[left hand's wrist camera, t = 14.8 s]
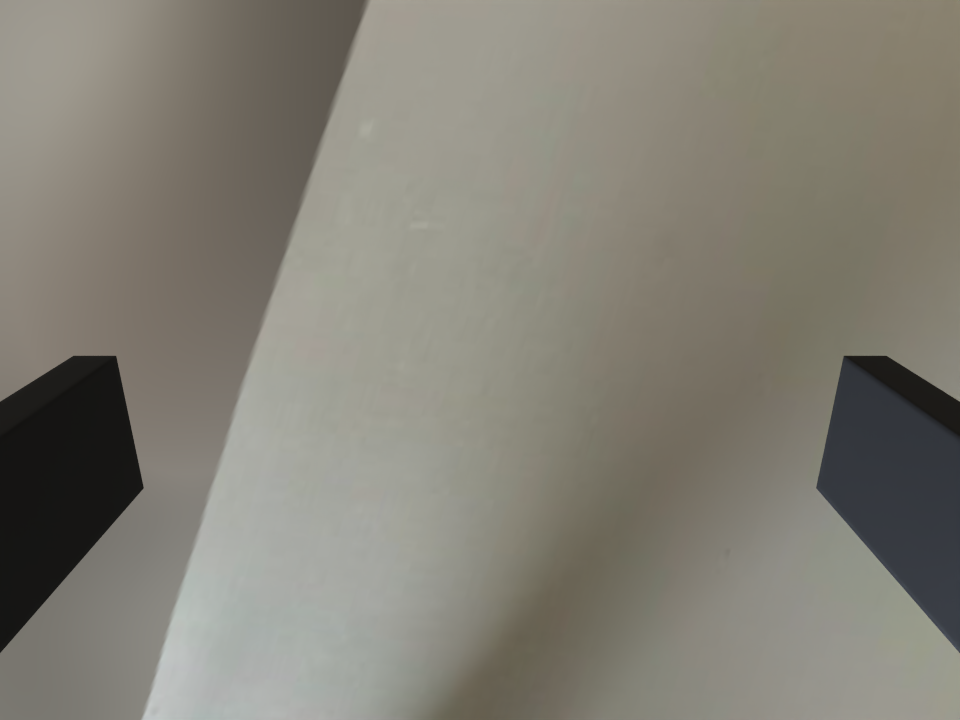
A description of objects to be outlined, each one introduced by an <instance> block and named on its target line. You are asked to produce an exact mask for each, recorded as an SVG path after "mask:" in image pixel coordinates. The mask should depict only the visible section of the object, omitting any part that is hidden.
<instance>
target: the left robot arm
mask: <svg viewBox="0 0 960 720" xmlns="http://www.w3.org/2000/svg"><path fill="white" fill-rule="evenodd" d="M816 488H817V489H818V491H819V492H820V493H821V494H822V495H823V496H824V497H825V499H826V500H827V501H828V502H829V503H830V504H831V505H832V507H833V508H834V509H835V510H836V511H837V512H838V514H839V515H840V516H841V517H842V518H843V519H844V520H845V522H846V523H847V524H848V525H849V526H850V527H851V528H852V530H853V531H854V532H855V533H856V534H857V535H858V537H859V538H860V539H861V540H862V541H863V542H864V543H865V545H866V546H867V547H868V548H869V549H870V550H871V551H872V553H873V554H874V555H875V556H876V557H877V558H878V559H879V561H880V562H881V563H882V564H883V565H884V566H885V568H886V569H887V570H888V571H889V572H890V573H891V574H892V576H893V577H894V578H895V579H896V580H897V581H898V582H899V584H900V585H901V586H902V587H903V588H904V589H905V591H906V592H907V593H908V594H909V595H910V596H911V597H912V599H913V600H914V601H915V602H916V603H917V604H918V605H919V607H920V608H921V609H922V610H923V611H924V612H925V613H926V615H927V616H928V617H929V618H930V619H931V620H932V622H933V623H934V624H935V625H936V626H937V627H938V628H939V630H940V631H941V632H942V633H943V634H944V635H945V636H946V638H947V639H948V640H949V641H950V642H951V643H952V645H953V646H954V647H955V648H956V649H957V650H958V651H959V653H960V402H959V401H958V400H956V399H954V398H953V397H951V396H950V395H948V394H946V393H945V392H943V391H942V390H940V389H938V388H937V387H935V386H934V385H932V384H930V383H929V382H927V381H926V380H924V379H922V378H921V377H919V376H918V375H916V374H914V373H913V372H911V371H910V370H908V369H907V368H905V367H903V366H902V365H900V364H899V363H897V362H895V361H894V360H892V359H891V358H889V357H887V356H844V358H843V363H842V368H841V372H840V377H839V382H838V387H837V392H836V396H835V401H834V406H833V411H832V415H831V420H830V425H829V430H828V435H827V439H826V444H825V449H824V454H823V459H822V463H821V468H820V473H819V478H818V483H817V487H816ZM142 489H143V483H142V478H141V473H140V468H139V463H138V459H137V454H136V449H135V444H134V439H133V435H132V430H131V425H130V420H129V416H128V411H127V406H126V401H125V396H124V392H123V387H122V382H121V377H120V372H119V368H118V363H117V358H116V356H73V357H71V358H69V359H68V360H66V361H65V362H63V363H61V364H60V365H58V366H57V367H55V368H53V369H52V370H50V371H49V372H47V373H46V374H44V375H42V376H41V377H39V378H38V379H36V380H34V381H33V382H31V383H30V384H28V385H26V386H25V387H23V388H22V389H20V390H18V391H17V392H15V393H14V394H12V395H10V396H9V397H7V398H6V399H4V400H2V401H1V402H0V652H1V651H2V650H3V649H4V648H5V647H6V646H7V645H8V643H9V642H10V641H11V640H12V639H13V638H14V636H15V635H16V634H17V633H18V632H19V631H20V630H21V628H22V627H23V626H24V625H25V624H26V623H27V621H28V620H29V619H30V618H31V617H32V616H33V615H34V613H35V612H36V611H37V610H38V609H39V608H40V607H41V605H42V604H43V603H44V602H45V601H46V600H47V599H48V597H49V596H50V595H51V594H52V593H53V592H54V590H55V589H56V588H57V587H58V586H59V585H60V584H61V582H62V581H63V580H64V579H65V578H66V577H67V575H68V574H69V573H70V572H71V571H72V570H73V569H74V568H75V566H76V565H77V564H78V563H79V562H80V561H81V559H82V558H83V557H84V556H85V555H86V554H87V553H88V551H89V550H90V549H91V548H92V547H93V546H94V545H95V543H96V542H97V541H98V540H99V539H100V538H101V537H102V535H103V534H104V533H105V532H106V531H107V530H108V528H109V527H110V526H111V525H112V524H113V523H114V522H115V520H116V519H117V518H118V517H119V516H120V515H121V514H122V512H123V511H124V510H125V509H126V508H127V507H128V505H129V504H130V503H131V502H132V501H133V500H134V499H135V497H136V496H137V495H138V494H139V493H140V492H141V490H142Z"/></svg>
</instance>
